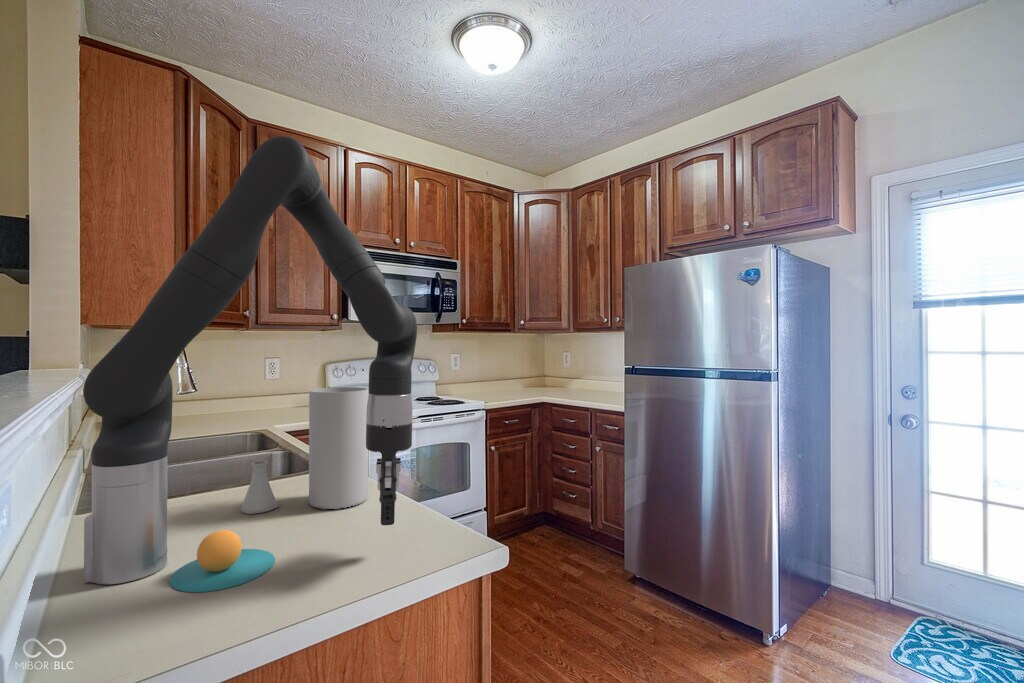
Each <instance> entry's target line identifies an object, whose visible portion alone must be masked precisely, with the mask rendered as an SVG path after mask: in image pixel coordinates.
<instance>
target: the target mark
mask: <svg viewBox="0 0 1024 683" xmlns="http://www.w3.org/2000/svg"><path fill="white" fill-rule="evenodd" d="M275 560H276V558H275V555H274V553H273V554H272V552H269V550H268V551H267V550H264V549H260V548H259V549H257V548H242V550H241V554H240V556H239V558H238V559H237V561H236V562H235V563H234V564H233V565H232V566H231V567H229V568H227V569H225V570H223V571H219V572H210V571H207V570H205V569H203V568H202V567H201V566H200V564H199V563H198V560H197V559H195V560H193V561H190V562H188V563H186V564H184V565H182V566H181V567H179V568H178V569H177V570H175V571H174V573H173V574H172V575H171V576H170V578H169V584H170V586H171V588H173V589H174V590H176V591H180V592H185V593H208V592H214V591H215V592H217V591H220V590H221V591H222V590H226V589H229V588H230V589H231V588H233V587H237V586H239V585H243V584H246V583H248V582H251V581H253V580H256V579H257V578H259V577H261V576H262V575H264V574H266V573H267V572H268V571H270V569H272V567H273V566H274V565H275ZM273 564H274V565H273Z"/></svg>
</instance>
